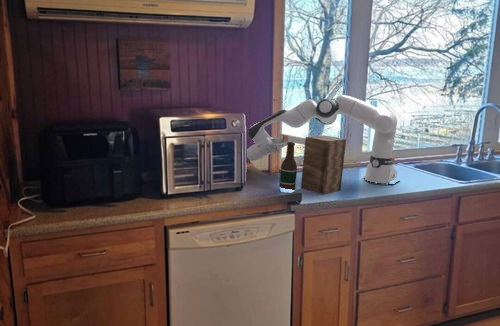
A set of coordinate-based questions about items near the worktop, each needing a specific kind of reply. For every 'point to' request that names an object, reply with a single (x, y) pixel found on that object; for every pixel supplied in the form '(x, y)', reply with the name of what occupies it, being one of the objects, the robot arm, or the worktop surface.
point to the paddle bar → (293, 139)
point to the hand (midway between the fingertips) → (285, 136)
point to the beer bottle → (288, 169)
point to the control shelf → (323, 164)
